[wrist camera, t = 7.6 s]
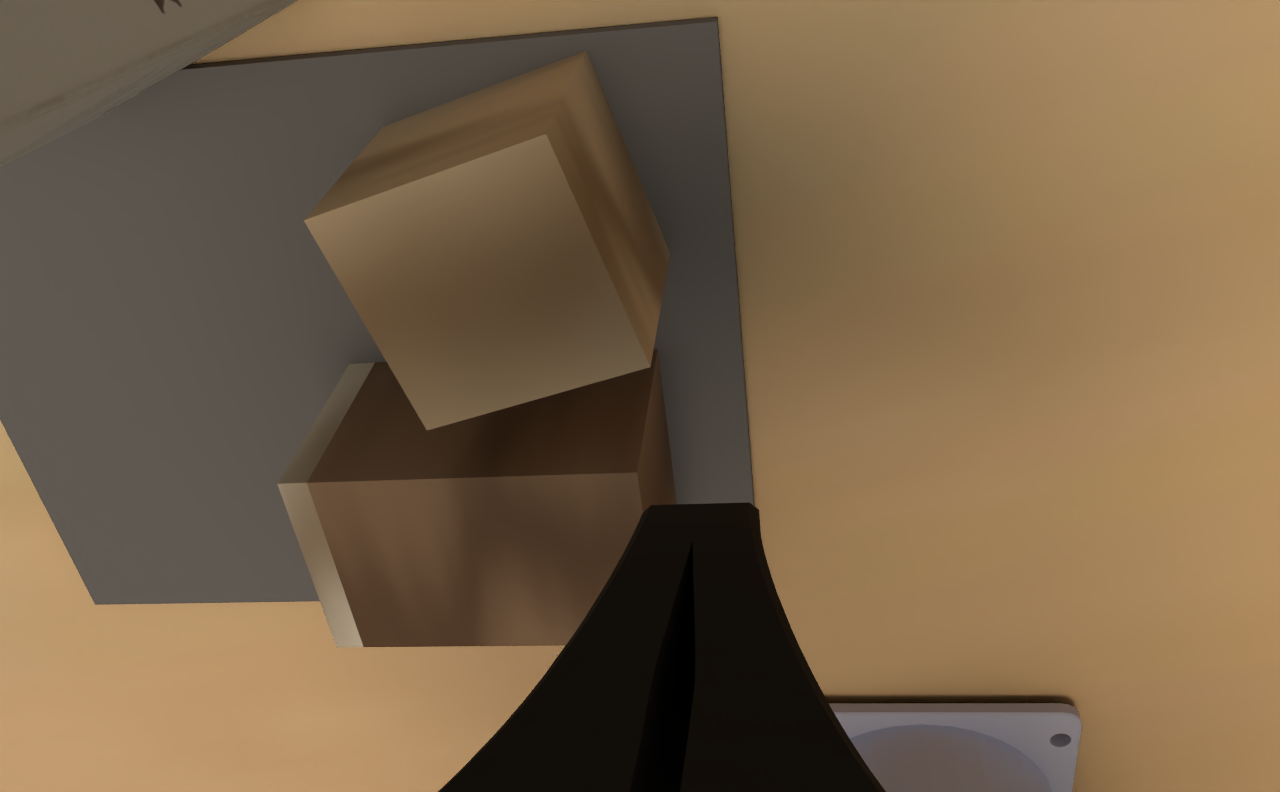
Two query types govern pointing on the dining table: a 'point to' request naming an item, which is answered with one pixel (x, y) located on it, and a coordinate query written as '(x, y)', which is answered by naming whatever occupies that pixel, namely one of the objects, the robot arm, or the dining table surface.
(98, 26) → the skincare box
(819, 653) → the dining table surface
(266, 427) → the felt mat
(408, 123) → the oak cube
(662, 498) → the walnut block
